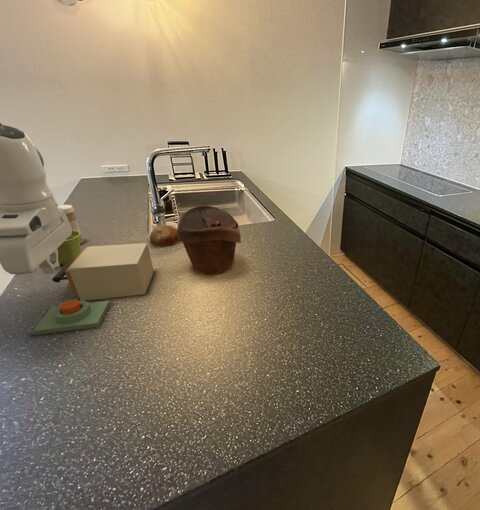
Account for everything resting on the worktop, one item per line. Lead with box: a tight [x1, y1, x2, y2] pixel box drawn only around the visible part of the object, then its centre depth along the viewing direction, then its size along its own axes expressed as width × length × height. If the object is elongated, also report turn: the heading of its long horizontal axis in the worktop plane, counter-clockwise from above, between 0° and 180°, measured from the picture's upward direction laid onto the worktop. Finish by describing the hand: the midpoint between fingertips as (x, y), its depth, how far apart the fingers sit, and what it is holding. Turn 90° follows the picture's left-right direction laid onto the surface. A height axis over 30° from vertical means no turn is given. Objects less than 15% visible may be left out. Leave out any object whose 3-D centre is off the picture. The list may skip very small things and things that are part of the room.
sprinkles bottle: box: [58, 204, 85, 245], centre depth 104 cm, size 5×5×14 cm
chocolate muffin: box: [176, 205, 242, 275], centre depth 97 cm, size 18×20×18 cm
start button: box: [59, 299, 81, 314], centre depth 72 cm, size 4×4×2 cm
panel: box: [32, 299, 111, 336], centre depth 73 cm, size 12×9×3 cm
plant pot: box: [57, 230, 82, 266], centre depth 95 cm, size 9×9×9 cm
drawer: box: [51, 250, 84, 298], centre depth 84 cm, size 18×12×8 cm, turn 109°
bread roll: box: [149, 224, 180, 247], centre depth 113 cm, size 10×10×8 cm
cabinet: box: [69, 242, 155, 302], centre depth 85 cm, size 15×13×10 cm
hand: (52, 270), depth 68 cm, fingers closed
